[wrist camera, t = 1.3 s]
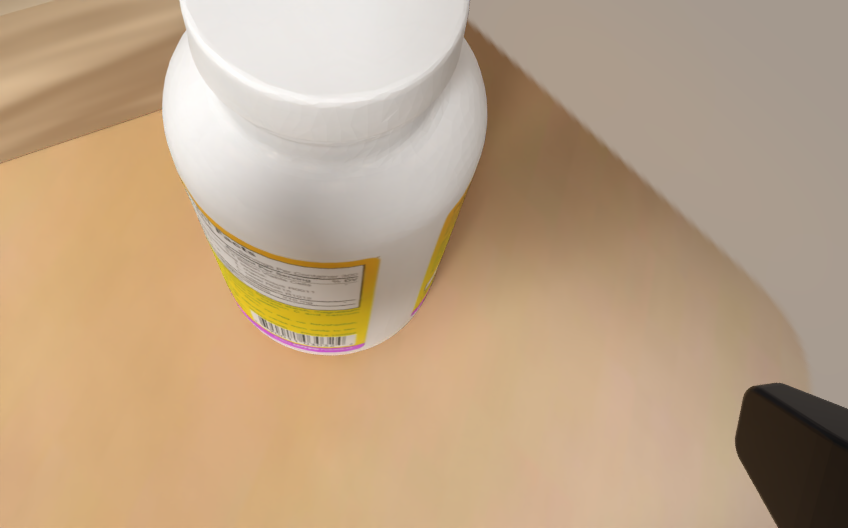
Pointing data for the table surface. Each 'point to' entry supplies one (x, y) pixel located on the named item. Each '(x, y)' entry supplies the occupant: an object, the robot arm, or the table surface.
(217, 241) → the supplement bottle
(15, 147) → the birch backstop wall
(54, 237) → the table surface
